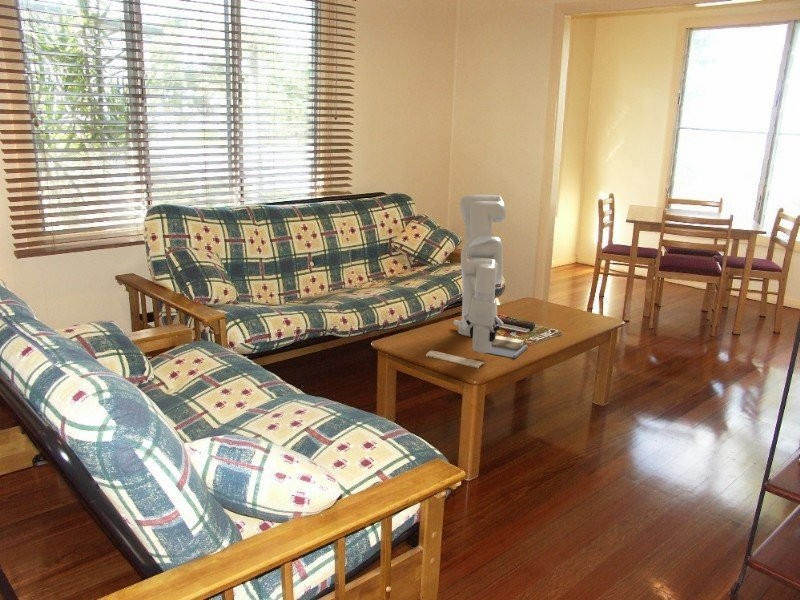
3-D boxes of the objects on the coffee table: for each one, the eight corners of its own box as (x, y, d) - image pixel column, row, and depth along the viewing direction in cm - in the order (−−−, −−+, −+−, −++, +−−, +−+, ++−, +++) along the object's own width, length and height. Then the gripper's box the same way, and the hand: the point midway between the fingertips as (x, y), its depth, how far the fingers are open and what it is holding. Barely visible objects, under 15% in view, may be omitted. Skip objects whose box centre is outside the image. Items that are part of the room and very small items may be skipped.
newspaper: (425, 357, 283) (425, 353, 283) (434, 352, 289) (434, 348, 288) (478, 370, 271) (478, 365, 270) (487, 364, 276) (487, 360, 276)
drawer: (478, 351, 288) (478, 348, 288) (491, 341, 300) (491, 338, 300) (515, 358, 281) (515, 355, 280) (527, 348, 293) (527, 345, 292)
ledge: (492, 345, 296) (492, 338, 295) (495, 342, 299) (496, 335, 298) (519, 350, 290) (520, 343, 289) (522, 347, 294) (523, 340, 293)
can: (478, 345, 285) (480, 316, 281) (494, 349, 280) (496, 321, 276) (468, 350, 279) (469, 321, 275) (484, 355, 275) (486, 326, 271)
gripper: (459, 294, 273) (458, 337, 279) (502, 302, 265) (499, 346, 271) (468, 289, 280) (466, 331, 285) (509, 297, 272) (506, 340, 277)
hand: (482, 338), depth 278 cm, fingers closed on can, 7 cm apart
